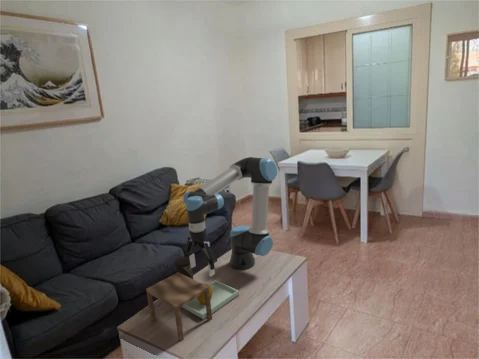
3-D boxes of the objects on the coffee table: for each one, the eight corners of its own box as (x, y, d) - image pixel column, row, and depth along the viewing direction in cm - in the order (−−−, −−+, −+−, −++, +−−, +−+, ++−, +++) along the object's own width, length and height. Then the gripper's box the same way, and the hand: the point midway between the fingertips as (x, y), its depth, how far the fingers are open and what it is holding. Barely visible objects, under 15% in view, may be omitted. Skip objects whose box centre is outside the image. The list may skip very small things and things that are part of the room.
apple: (192, 302, 164) (190, 286, 162) (206, 294, 169) (205, 279, 167) (202, 309, 158) (200, 292, 156) (216, 301, 163) (215, 285, 161)
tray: (215, 284, 180) (215, 280, 179) (239, 295, 169) (238, 290, 168) (180, 306, 163) (179, 301, 162) (203, 319, 152) (202, 314, 151)
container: (195, 297, 169) (191, 262, 165) (177, 299, 169) (172, 263, 164) (196, 288, 178) (192, 254, 173) (179, 290, 177) (174, 255, 173)
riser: (182, 301, 167) (178, 272, 163) (212, 319, 152) (208, 286, 148) (151, 320, 154) (146, 288, 150) (180, 341, 139) (176, 306, 136)
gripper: (174, 226, 160) (180, 266, 165) (209, 238, 143) (214, 282, 149) (186, 221, 165) (191, 260, 171) (222, 232, 149) (226, 275, 154)
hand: (202, 270), depth 160 cm, fingers open, 13 cm apart
